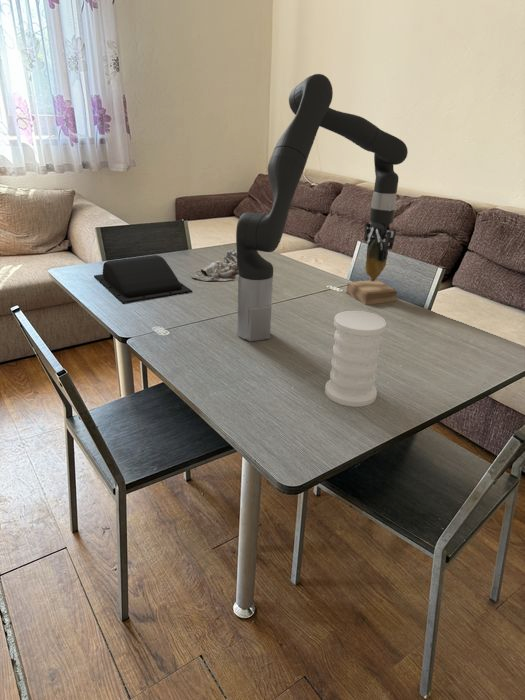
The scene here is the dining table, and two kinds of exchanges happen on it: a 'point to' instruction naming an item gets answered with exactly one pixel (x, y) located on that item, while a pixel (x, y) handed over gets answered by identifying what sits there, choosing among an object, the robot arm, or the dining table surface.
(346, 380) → the decorative container
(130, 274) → the black rounded block
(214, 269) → the wall ornament
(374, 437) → the dining table surface
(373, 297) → the plinth
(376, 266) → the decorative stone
